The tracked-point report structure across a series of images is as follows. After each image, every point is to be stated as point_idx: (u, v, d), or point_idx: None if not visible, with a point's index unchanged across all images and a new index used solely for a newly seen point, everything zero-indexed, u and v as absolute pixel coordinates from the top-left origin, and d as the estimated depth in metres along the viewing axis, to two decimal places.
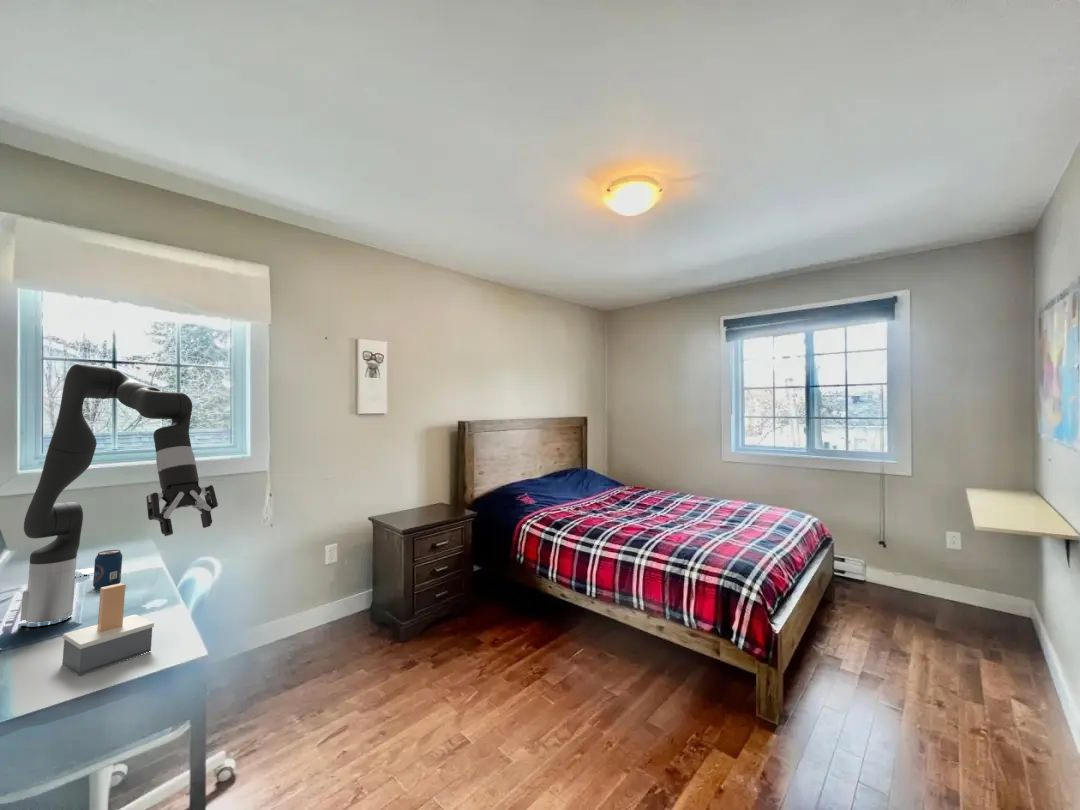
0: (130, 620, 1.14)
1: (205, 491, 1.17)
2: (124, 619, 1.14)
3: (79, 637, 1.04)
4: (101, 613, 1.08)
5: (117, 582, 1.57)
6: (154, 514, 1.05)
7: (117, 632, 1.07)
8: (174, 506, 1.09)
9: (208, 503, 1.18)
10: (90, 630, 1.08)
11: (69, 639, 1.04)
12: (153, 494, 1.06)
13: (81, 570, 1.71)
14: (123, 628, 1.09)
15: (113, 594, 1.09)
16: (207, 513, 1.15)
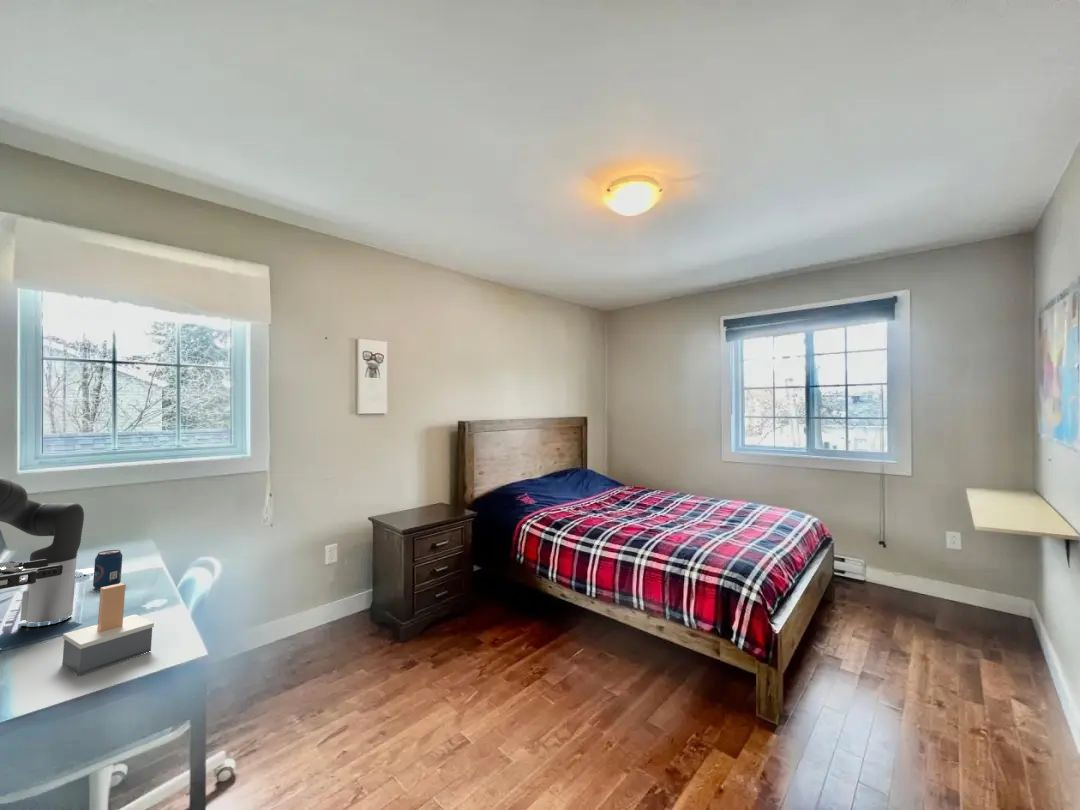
0: (130, 620, 1.14)
1: None
2: (124, 619, 1.14)
3: (79, 637, 1.04)
4: (101, 613, 1.08)
5: (117, 582, 1.57)
6: None
7: (117, 632, 1.07)
8: None
9: None
10: (90, 630, 1.08)
11: (69, 639, 1.04)
12: None
13: (81, 570, 1.71)
14: (123, 628, 1.09)
15: (113, 594, 1.09)
16: None
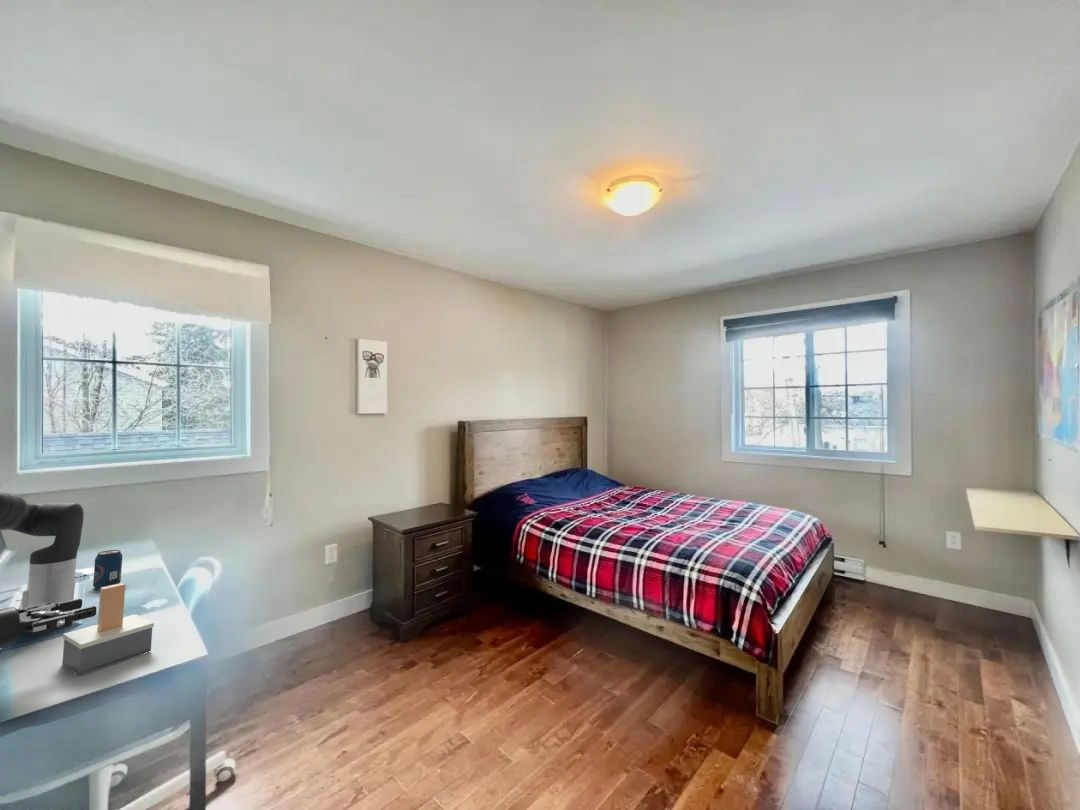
0: (130, 620, 1.14)
1: None
2: (124, 619, 1.14)
3: (79, 637, 1.04)
4: (101, 613, 1.08)
5: (117, 582, 1.57)
6: None
7: (117, 632, 1.07)
8: None
9: None
10: (90, 630, 1.08)
11: (69, 639, 1.04)
12: None
13: (80, 570, 1.71)
14: (123, 628, 1.09)
15: (113, 594, 1.09)
16: None
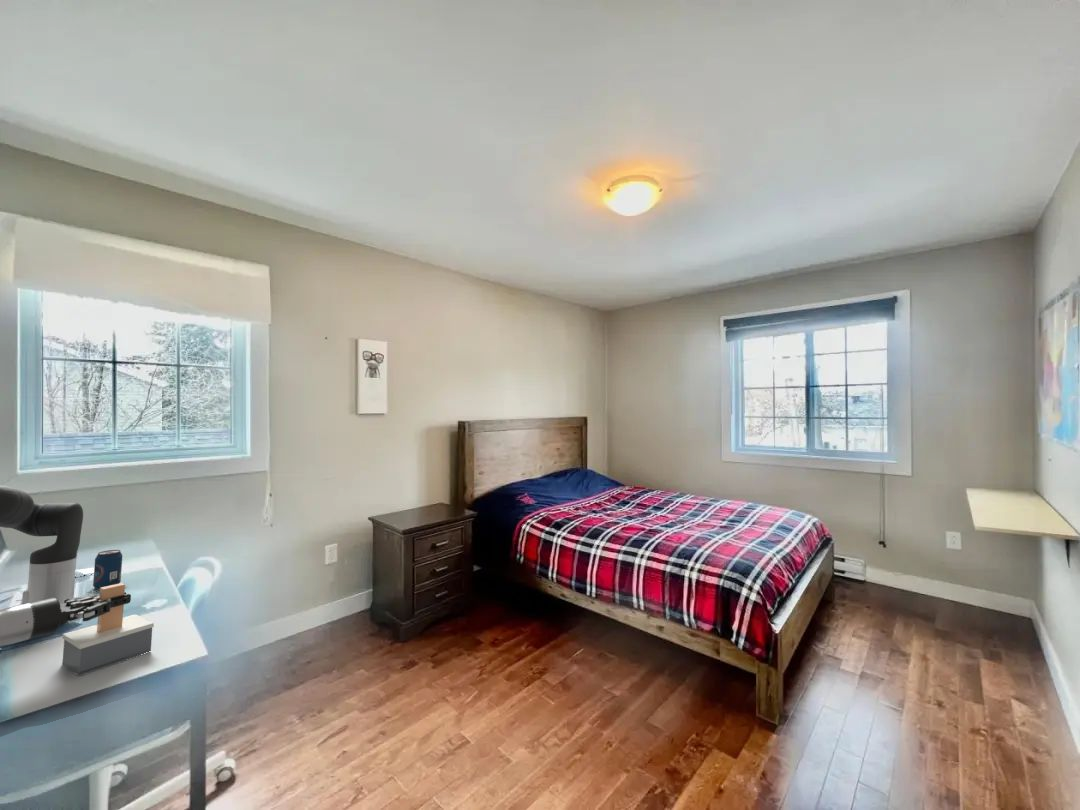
0: (129, 620, 1.14)
1: None
2: (123, 620, 1.14)
3: (79, 637, 1.04)
4: None
5: (117, 582, 1.57)
6: None
7: (117, 632, 1.07)
8: None
9: None
10: (89, 631, 1.08)
11: (68, 639, 1.04)
12: None
13: (80, 570, 1.70)
14: (123, 628, 1.09)
15: (113, 594, 1.09)
16: None
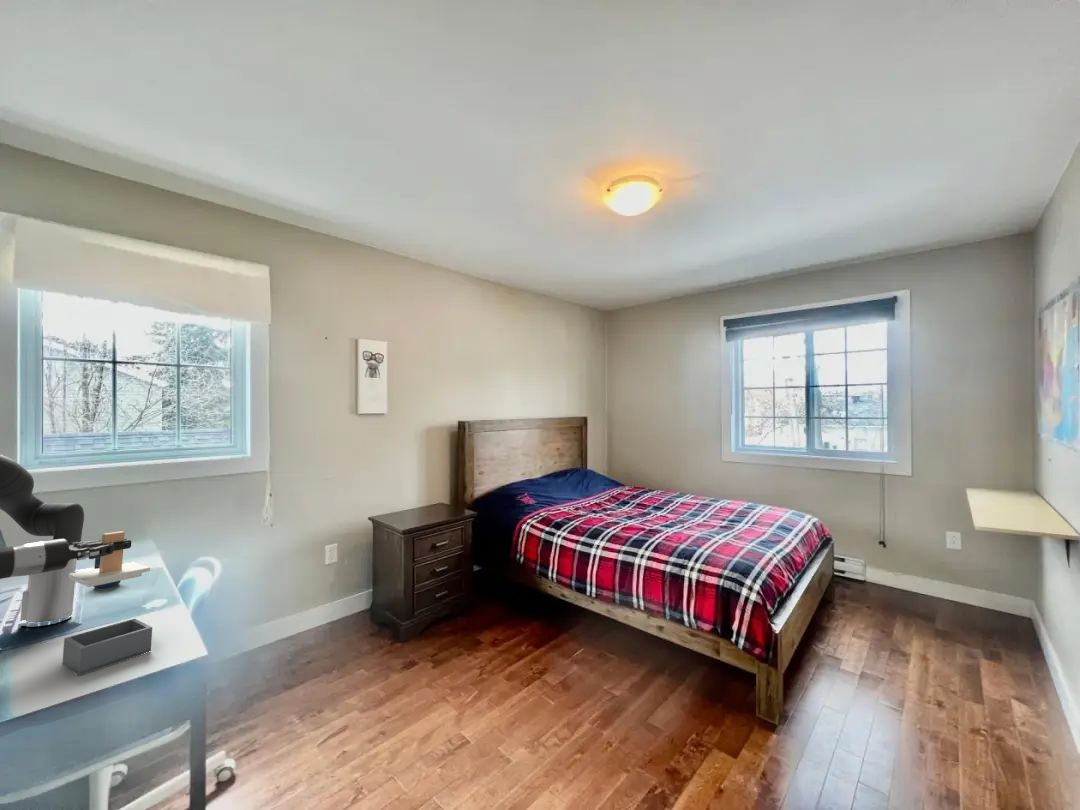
0: (128, 565, 1.27)
1: None
2: (123, 565, 1.27)
3: (83, 576, 1.17)
4: (102, 556, 1.20)
5: (117, 582, 1.57)
6: None
7: (117, 573, 1.20)
8: None
9: None
10: (92, 572, 1.20)
11: (73, 577, 1.17)
12: None
13: (79, 570, 1.70)
14: (122, 570, 1.22)
15: (113, 540, 1.22)
16: None
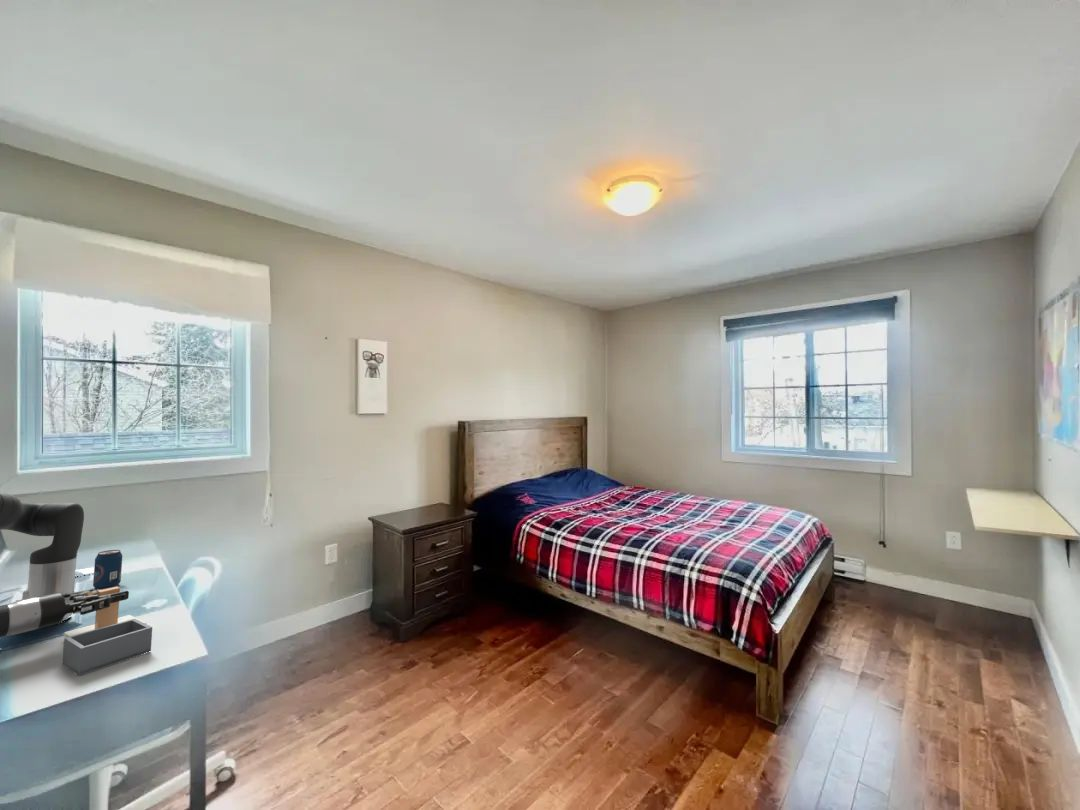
0: (124, 620, 1.26)
1: None
2: (118, 619, 1.26)
3: None
4: (98, 614, 1.19)
5: (117, 582, 1.57)
6: None
7: None
8: None
9: None
10: (88, 629, 1.19)
11: None
12: None
13: (78, 570, 1.70)
14: None
15: None
16: None
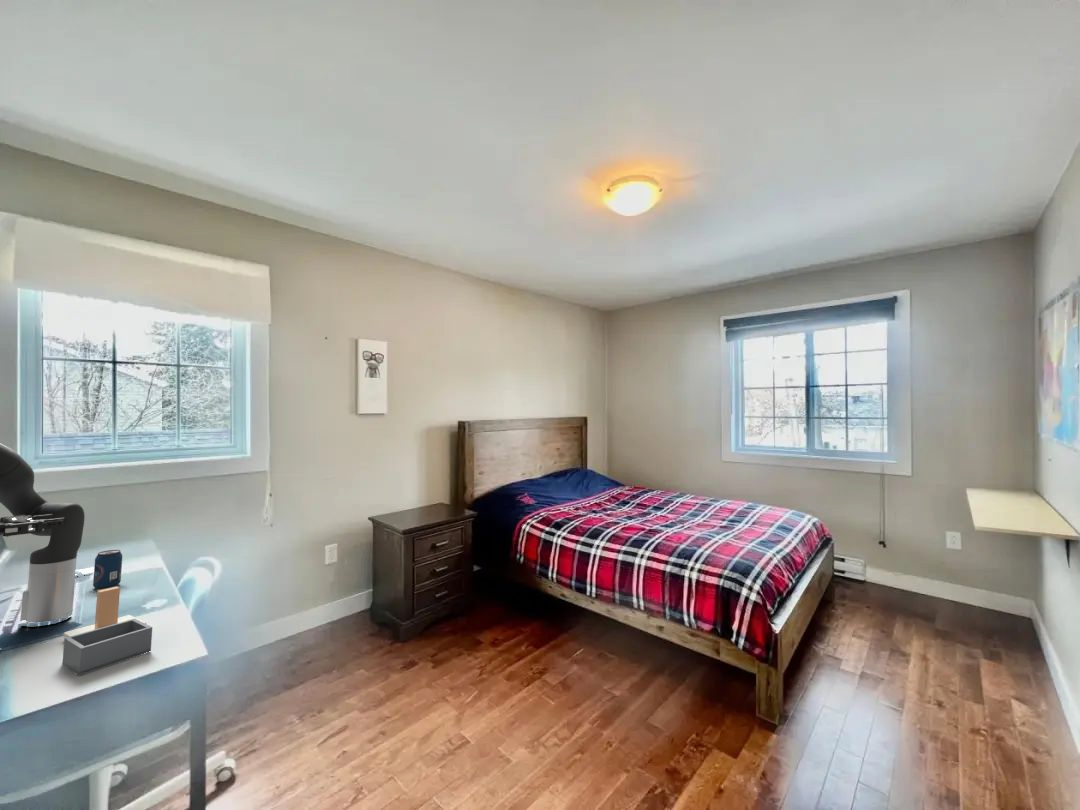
0: (124, 620, 1.26)
1: None
2: (118, 619, 1.26)
3: None
4: (98, 614, 1.19)
5: (117, 582, 1.57)
6: None
7: None
8: None
9: None
10: (88, 629, 1.19)
11: None
12: None
13: (77, 570, 1.70)
14: None
15: (109, 596, 1.21)
16: (46, 529, 1.09)
